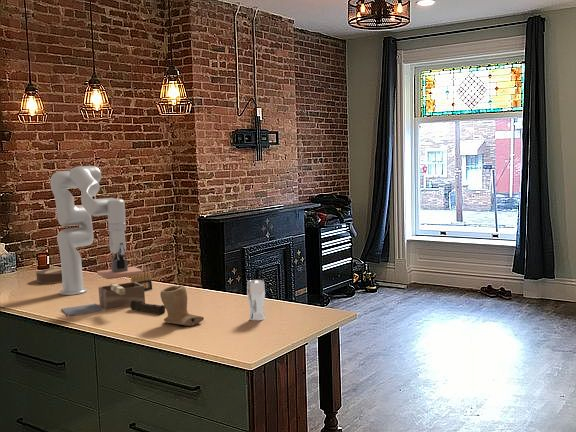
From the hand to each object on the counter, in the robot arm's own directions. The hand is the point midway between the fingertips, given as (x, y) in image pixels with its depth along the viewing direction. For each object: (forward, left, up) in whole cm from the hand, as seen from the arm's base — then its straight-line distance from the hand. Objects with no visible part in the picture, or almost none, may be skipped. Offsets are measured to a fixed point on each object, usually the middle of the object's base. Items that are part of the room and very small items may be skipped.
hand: (119, 267), depth 282 cm
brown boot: (+49, +8, -17) cm, 53 cm away
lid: (0, 0, -4) cm, 4 cm away
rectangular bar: (+17, -6, -7) cm, 20 cm away
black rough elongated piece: (+22, +4, -17) cm, 28 cm away
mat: (0, -17, -17) cm, 24 cm away
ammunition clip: (-21, +16, -17) cm, 31 cm away
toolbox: (0, 0, -17) cm, 17 cm away
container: (-81, -12, -17) cm, 84 cm away
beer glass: (+62, +35, -17) cm, 74 cm away
